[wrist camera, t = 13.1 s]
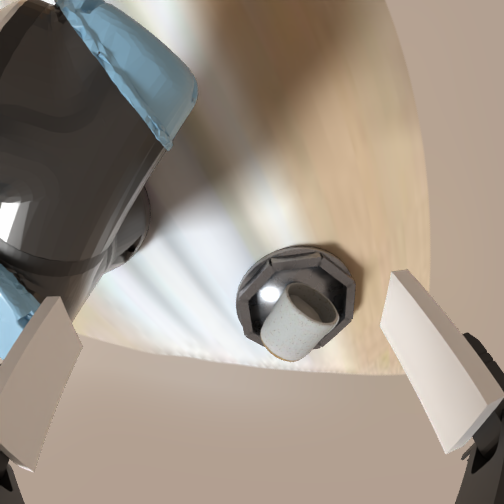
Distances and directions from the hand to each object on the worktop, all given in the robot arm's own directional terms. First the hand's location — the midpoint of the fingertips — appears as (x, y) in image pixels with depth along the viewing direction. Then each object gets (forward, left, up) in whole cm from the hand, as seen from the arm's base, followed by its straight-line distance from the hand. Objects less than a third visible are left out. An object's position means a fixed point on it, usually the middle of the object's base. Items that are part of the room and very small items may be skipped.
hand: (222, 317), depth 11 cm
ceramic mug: (+7, -19, -25) cm, 32 cm away
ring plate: (+6, -18, -26) cm, 32 cm away
